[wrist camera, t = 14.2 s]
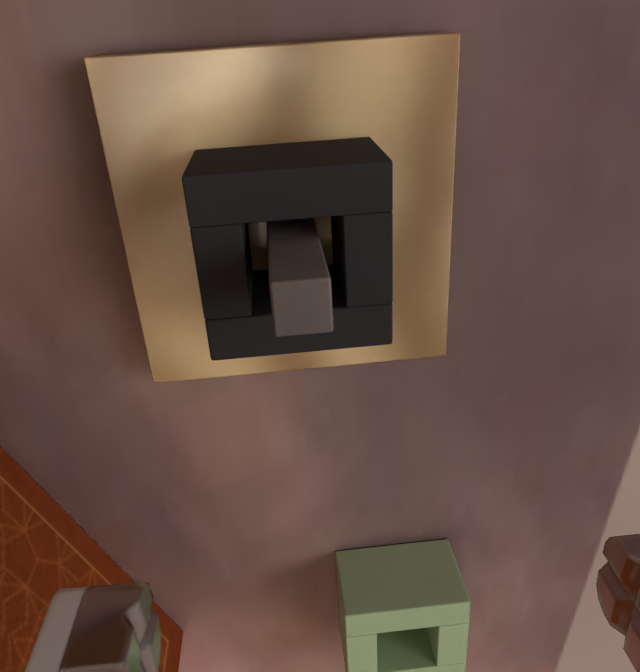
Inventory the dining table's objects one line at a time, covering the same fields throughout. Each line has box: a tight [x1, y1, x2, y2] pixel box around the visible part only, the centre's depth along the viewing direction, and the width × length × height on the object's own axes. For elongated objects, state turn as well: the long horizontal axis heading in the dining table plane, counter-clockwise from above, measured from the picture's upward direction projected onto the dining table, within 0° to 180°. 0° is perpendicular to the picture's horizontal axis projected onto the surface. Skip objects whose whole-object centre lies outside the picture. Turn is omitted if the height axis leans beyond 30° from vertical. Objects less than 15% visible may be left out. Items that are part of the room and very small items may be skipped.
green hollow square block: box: [335, 539, 471, 672], centre depth 32 cm, size 6×6×4 cm
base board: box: [84, 32, 460, 383], centre depth 20 cm, size 12×12×8 cm
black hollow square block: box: [182, 137, 393, 361], centre depth 20 cm, size 6×6×4 cm
